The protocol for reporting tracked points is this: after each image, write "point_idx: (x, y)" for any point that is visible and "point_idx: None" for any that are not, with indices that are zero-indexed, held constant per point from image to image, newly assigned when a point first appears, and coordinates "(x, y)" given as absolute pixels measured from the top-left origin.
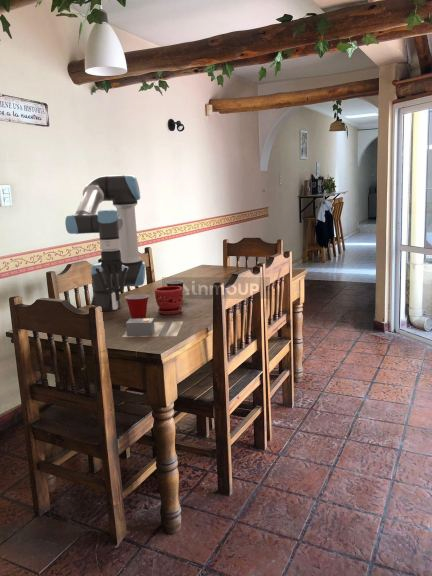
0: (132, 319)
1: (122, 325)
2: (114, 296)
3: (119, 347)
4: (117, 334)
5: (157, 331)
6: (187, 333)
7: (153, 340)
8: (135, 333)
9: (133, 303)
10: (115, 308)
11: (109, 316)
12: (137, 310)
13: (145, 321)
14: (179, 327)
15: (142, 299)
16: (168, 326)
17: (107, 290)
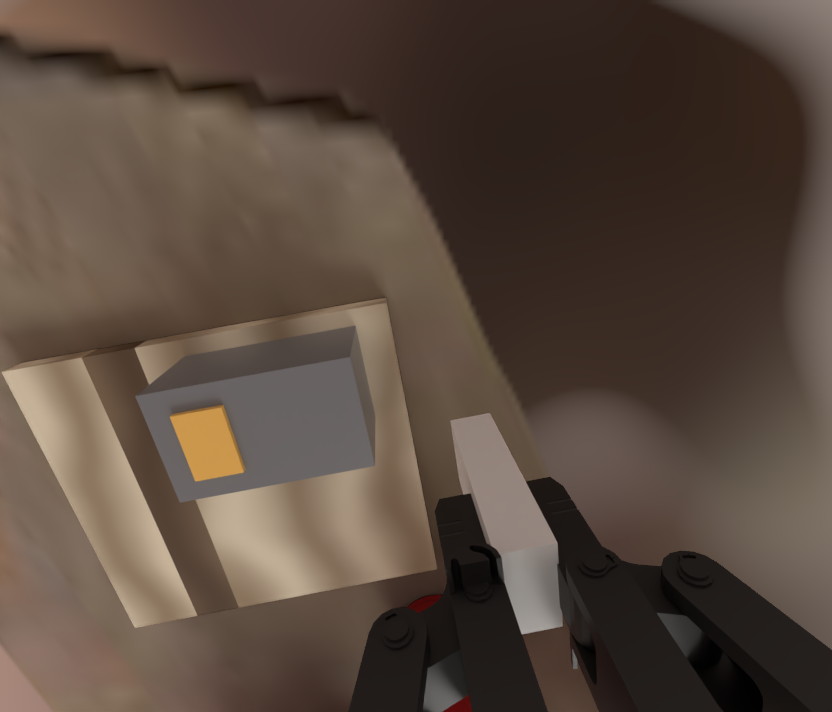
0: (339, 450)
1: None
2: (496, 517)
3: (340, 163)
4: (465, 406)
5: None
6: (27, 483)
7: (175, 331)
8: (292, 341)
9: (455, 709)
10: (461, 424)
11: None
12: None
13: (196, 411)
14: (90, 530)
15: None
16: (174, 537)
17: (655, 591)
